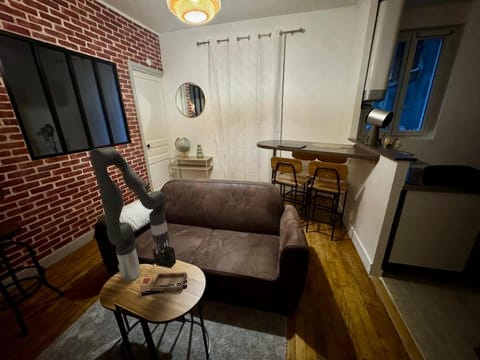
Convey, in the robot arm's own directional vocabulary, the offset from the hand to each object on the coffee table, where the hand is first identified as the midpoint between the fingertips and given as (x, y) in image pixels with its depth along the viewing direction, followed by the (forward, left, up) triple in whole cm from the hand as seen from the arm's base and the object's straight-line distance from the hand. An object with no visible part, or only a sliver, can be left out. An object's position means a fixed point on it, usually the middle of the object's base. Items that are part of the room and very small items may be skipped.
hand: (164, 258), depth 102 cm
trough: (0, 0, -17) cm, 17 cm away
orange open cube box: (-11, -3, -17) cm, 20 cm away
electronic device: (0, 0, -4) cm, 4 cm away
